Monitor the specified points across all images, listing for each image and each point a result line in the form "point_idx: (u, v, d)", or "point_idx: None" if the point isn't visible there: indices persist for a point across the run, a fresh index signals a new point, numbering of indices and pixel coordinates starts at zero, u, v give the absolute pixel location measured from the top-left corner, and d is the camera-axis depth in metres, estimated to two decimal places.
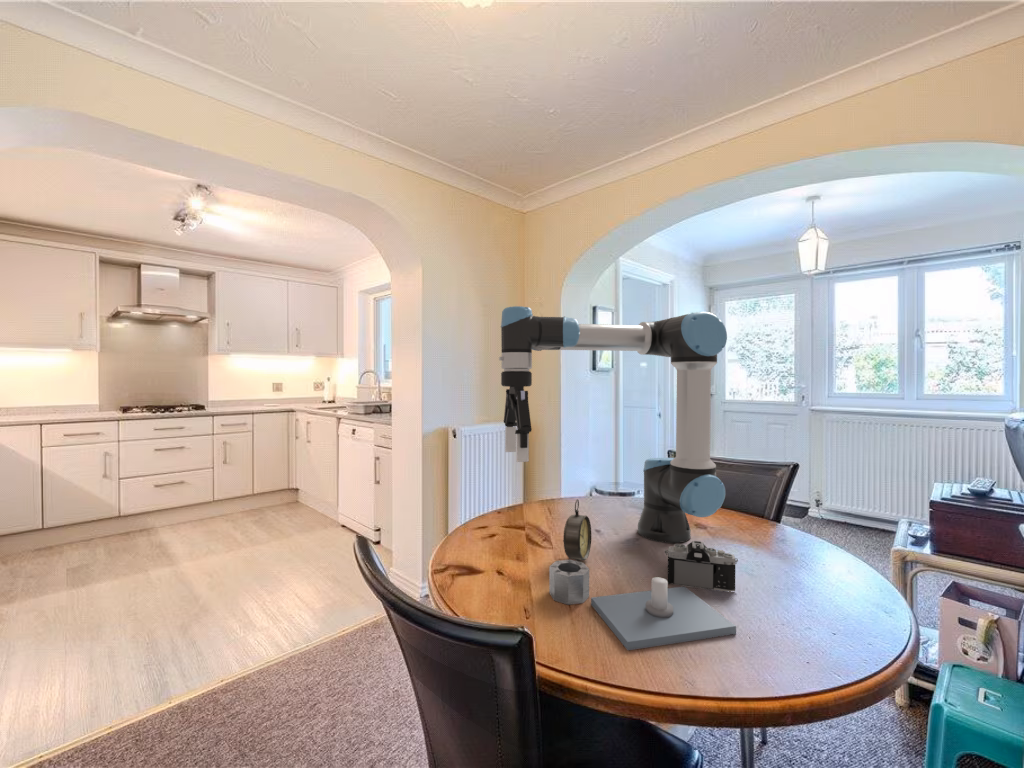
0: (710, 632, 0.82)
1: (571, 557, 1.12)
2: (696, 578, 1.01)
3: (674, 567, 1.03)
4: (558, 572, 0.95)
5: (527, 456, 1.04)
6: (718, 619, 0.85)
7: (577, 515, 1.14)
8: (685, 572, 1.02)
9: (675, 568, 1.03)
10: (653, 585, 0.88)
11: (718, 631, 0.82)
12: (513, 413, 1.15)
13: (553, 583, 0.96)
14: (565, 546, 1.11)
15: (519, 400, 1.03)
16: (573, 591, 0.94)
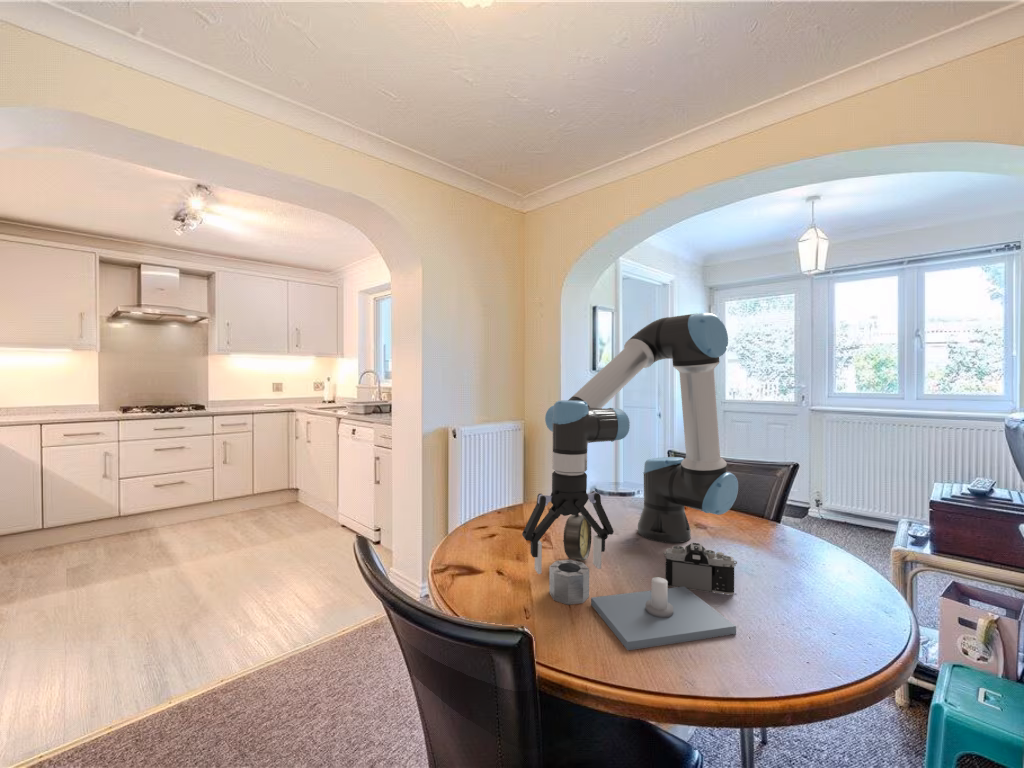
0: (710, 632, 0.82)
1: (571, 557, 1.12)
2: (694, 581, 1.00)
3: (672, 569, 1.02)
4: (558, 572, 0.95)
5: (537, 567, 0.95)
6: (718, 619, 0.85)
7: (577, 515, 1.14)
8: (683, 574, 1.01)
9: (673, 570, 1.02)
10: (653, 585, 0.88)
11: (718, 631, 0.82)
12: (587, 521, 0.98)
13: (553, 583, 0.96)
14: (565, 546, 1.11)
15: (536, 504, 0.97)
16: (573, 591, 0.94)
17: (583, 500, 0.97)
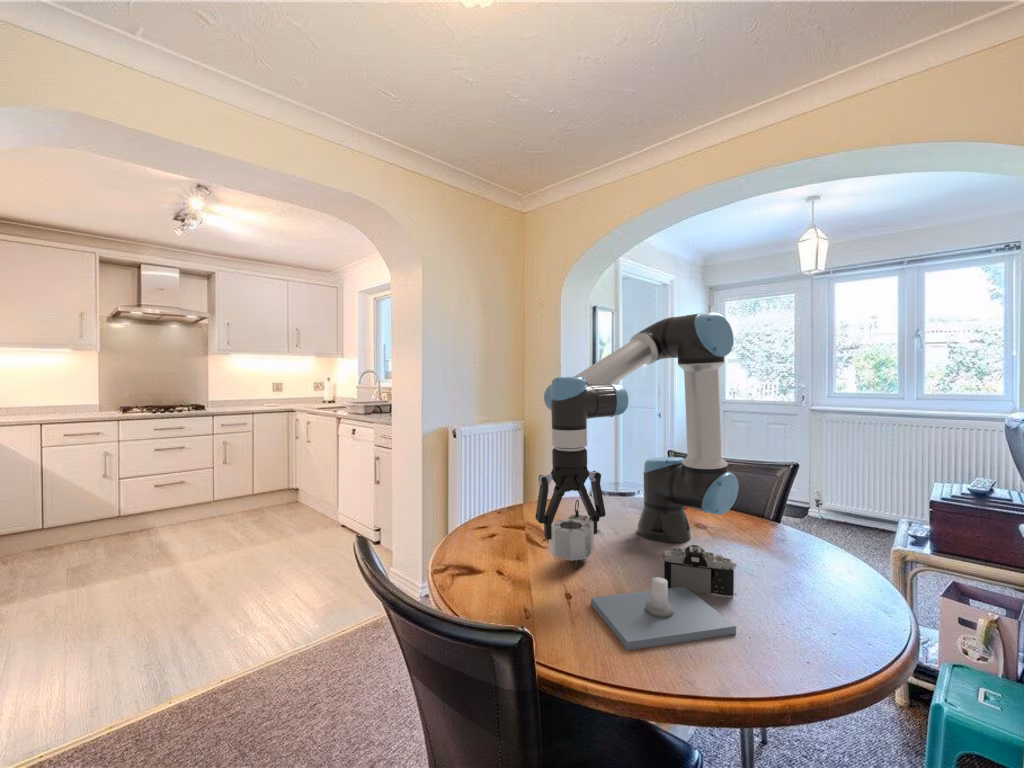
0: (710, 632, 0.82)
1: None
2: (693, 583, 0.99)
3: (671, 571, 1.00)
4: (560, 529, 0.95)
5: (552, 550, 0.96)
6: (718, 619, 0.85)
7: (577, 515, 1.14)
8: (682, 577, 1.00)
9: (672, 572, 1.00)
10: (653, 585, 0.88)
11: (718, 631, 0.82)
12: (583, 500, 0.98)
13: None
14: None
15: (540, 486, 0.97)
16: (575, 547, 0.94)
17: (584, 475, 0.97)
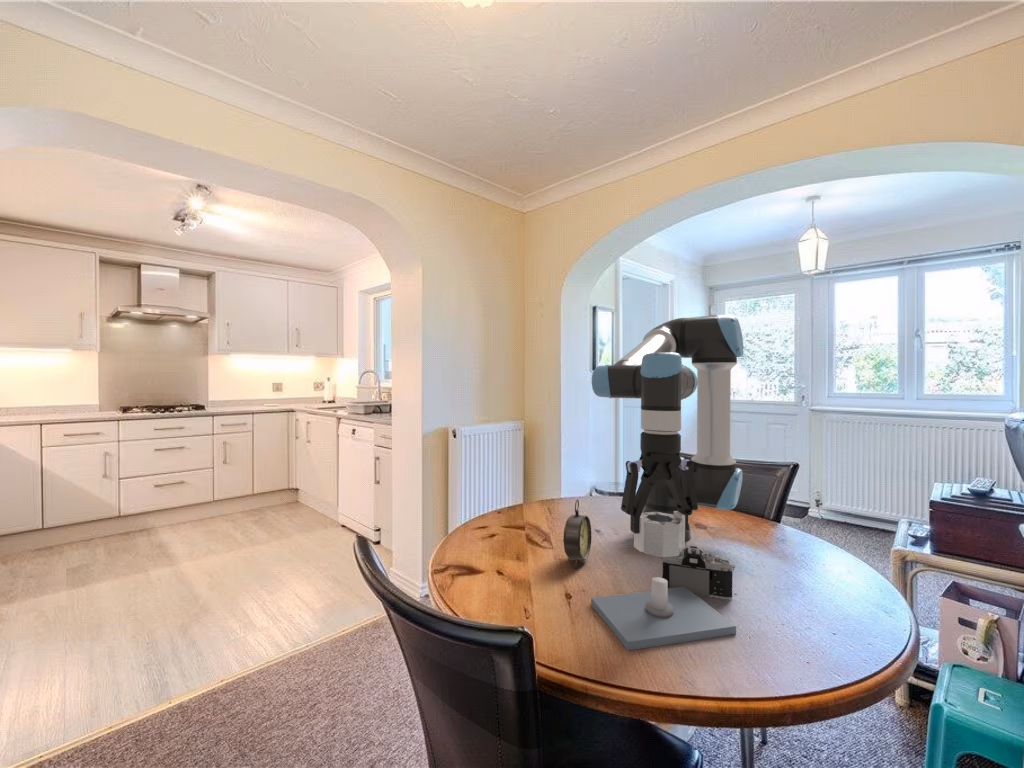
0: (710, 632, 0.82)
1: (571, 557, 1.12)
2: (691, 585, 0.98)
3: (669, 572, 1.00)
4: (650, 521, 0.85)
5: (640, 545, 0.86)
6: (718, 619, 0.85)
7: (577, 515, 1.14)
8: (680, 578, 0.99)
9: (670, 573, 1.00)
10: (653, 585, 0.88)
11: (718, 631, 0.82)
12: (673, 490, 0.88)
13: None
14: (565, 546, 1.11)
15: (627, 473, 0.87)
16: (668, 542, 0.84)
17: (676, 463, 0.87)
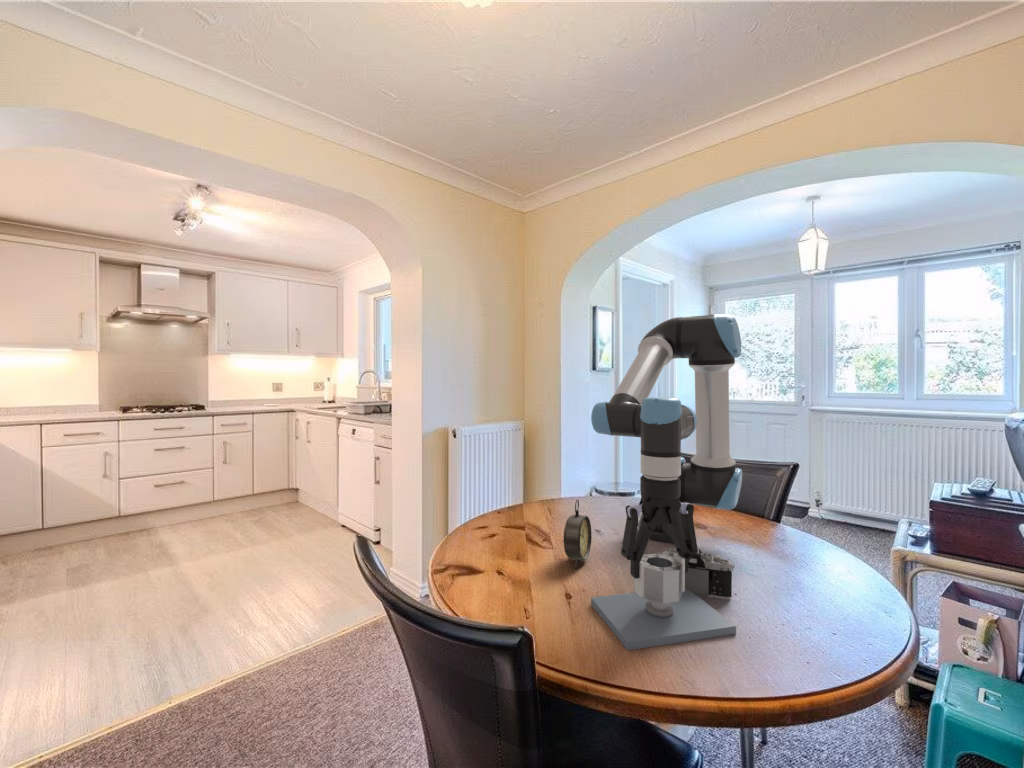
0: (710, 632, 0.82)
1: (571, 557, 1.12)
2: (691, 585, 0.98)
3: None
4: (650, 567, 0.86)
5: (640, 590, 0.86)
6: (718, 619, 0.85)
7: (577, 515, 1.14)
8: None
9: None
10: None
11: (718, 631, 0.82)
12: (673, 534, 0.88)
13: None
14: (565, 546, 1.11)
15: (627, 518, 0.87)
16: (668, 588, 0.84)
17: (676, 507, 0.87)
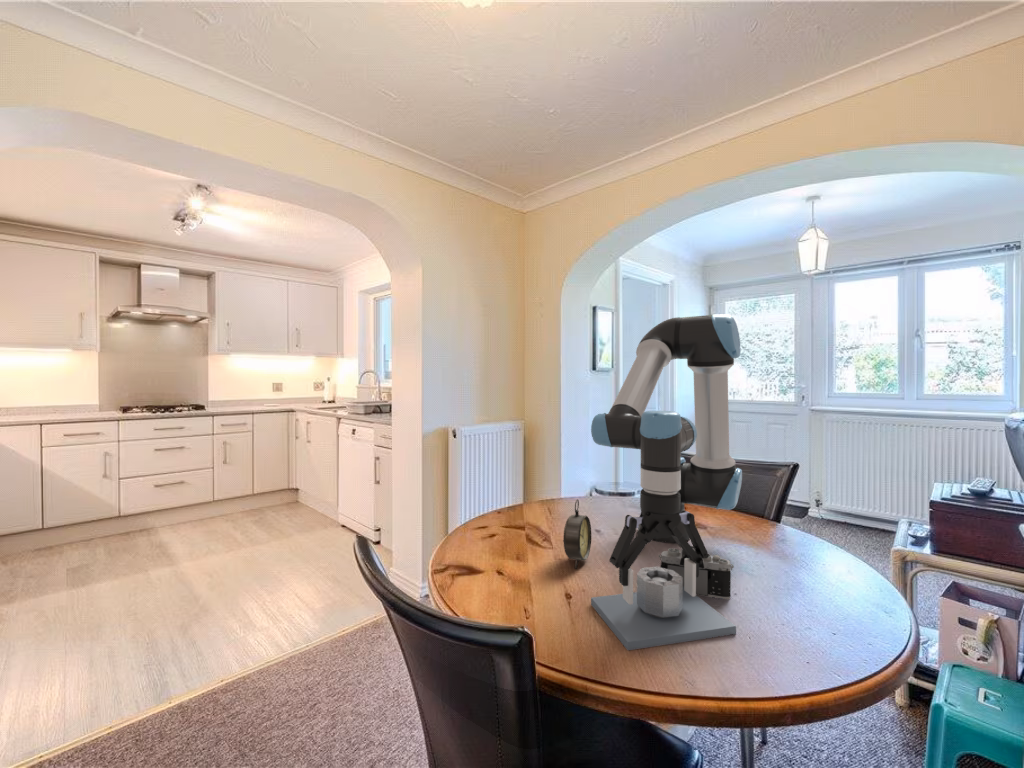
0: (710, 632, 0.82)
1: (571, 557, 1.12)
2: None
3: None
4: (650, 581, 0.86)
5: (628, 597, 0.86)
6: (718, 619, 0.85)
7: (577, 515, 1.14)
8: None
9: None
10: None
11: (718, 631, 0.82)
12: (680, 544, 0.89)
13: (644, 593, 0.86)
14: (565, 546, 1.11)
15: (625, 526, 0.87)
16: (668, 602, 0.84)
17: (676, 521, 0.87)
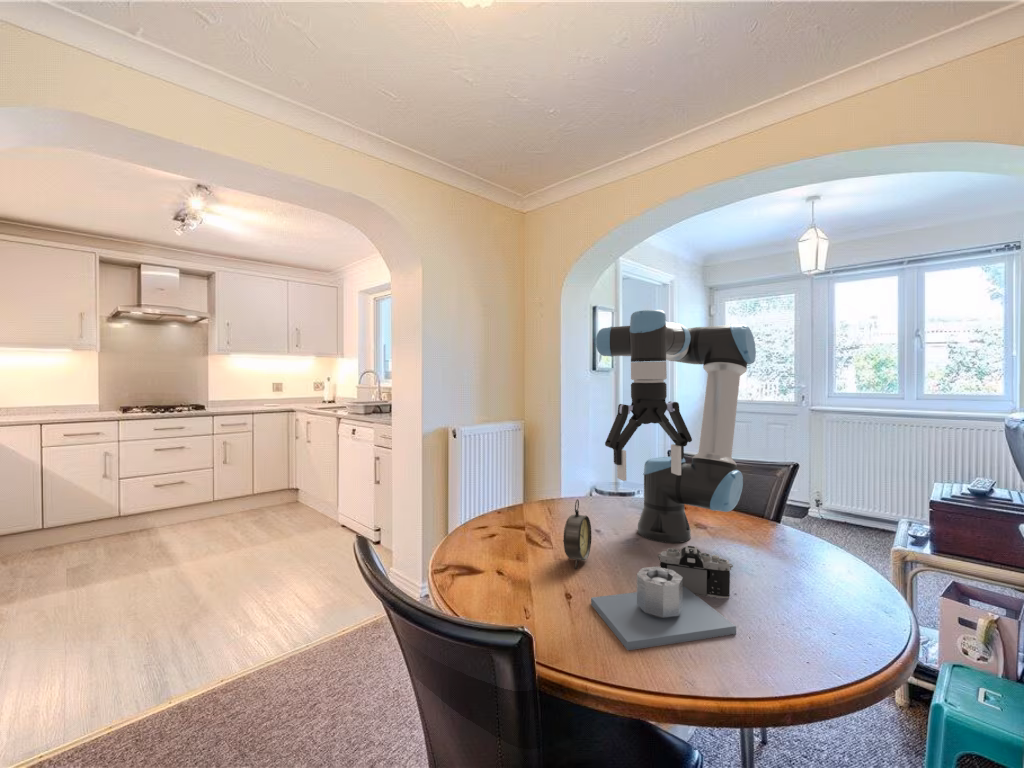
0: (710, 632, 0.82)
1: (571, 557, 1.12)
2: (689, 584, 0.98)
3: None
4: (650, 581, 0.86)
5: (622, 475, 0.97)
6: (718, 619, 0.85)
7: (577, 515, 1.14)
8: None
9: None
10: None
11: (718, 631, 0.82)
12: (666, 429, 1.00)
13: (644, 593, 0.86)
14: (565, 546, 1.11)
15: (618, 414, 0.98)
16: (668, 602, 0.84)
17: (663, 408, 0.98)
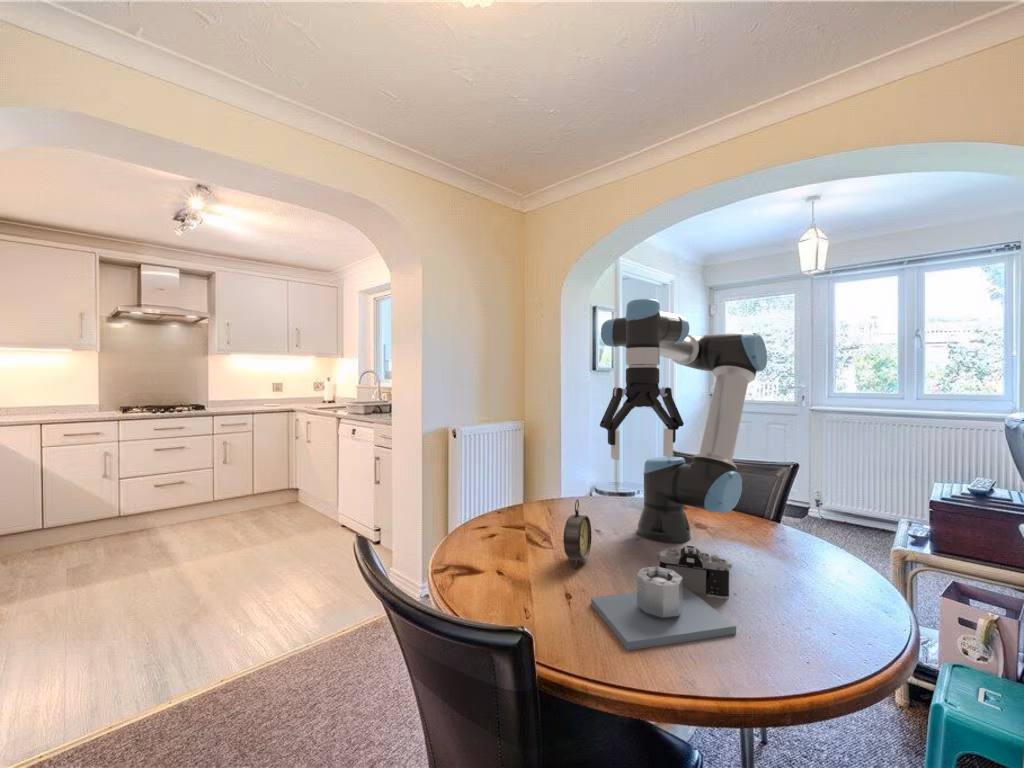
0: (710, 632, 0.82)
1: (571, 557, 1.12)
2: (688, 584, 0.98)
3: None
4: (650, 581, 0.86)
5: (615, 454, 1.02)
6: (718, 619, 0.85)
7: (577, 515, 1.14)
8: None
9: None
10: None
11: (718, 631, 0.82)
12: (659, 413, 1.05)
13: (644, 593, 0.86)
14: (565, 546, 1.11)
15: (612, 397, 1.03)
16: (668, 602, 0.84)
17: (656, 393, 1.04)
